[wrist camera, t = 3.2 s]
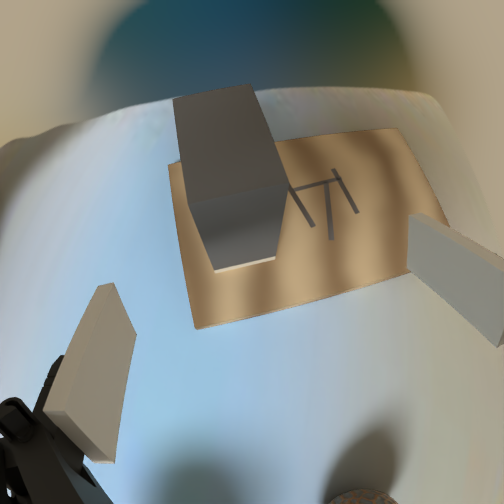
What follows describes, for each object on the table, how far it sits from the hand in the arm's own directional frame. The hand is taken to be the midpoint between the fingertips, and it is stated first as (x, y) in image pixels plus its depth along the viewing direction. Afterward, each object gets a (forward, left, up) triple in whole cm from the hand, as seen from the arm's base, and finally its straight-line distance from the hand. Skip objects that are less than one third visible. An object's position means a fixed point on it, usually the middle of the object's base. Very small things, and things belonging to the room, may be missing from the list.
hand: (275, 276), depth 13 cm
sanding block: (-8, +4, -12) cm, 15 cm away
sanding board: (-4, +11, -13) cm, 17 cm away
